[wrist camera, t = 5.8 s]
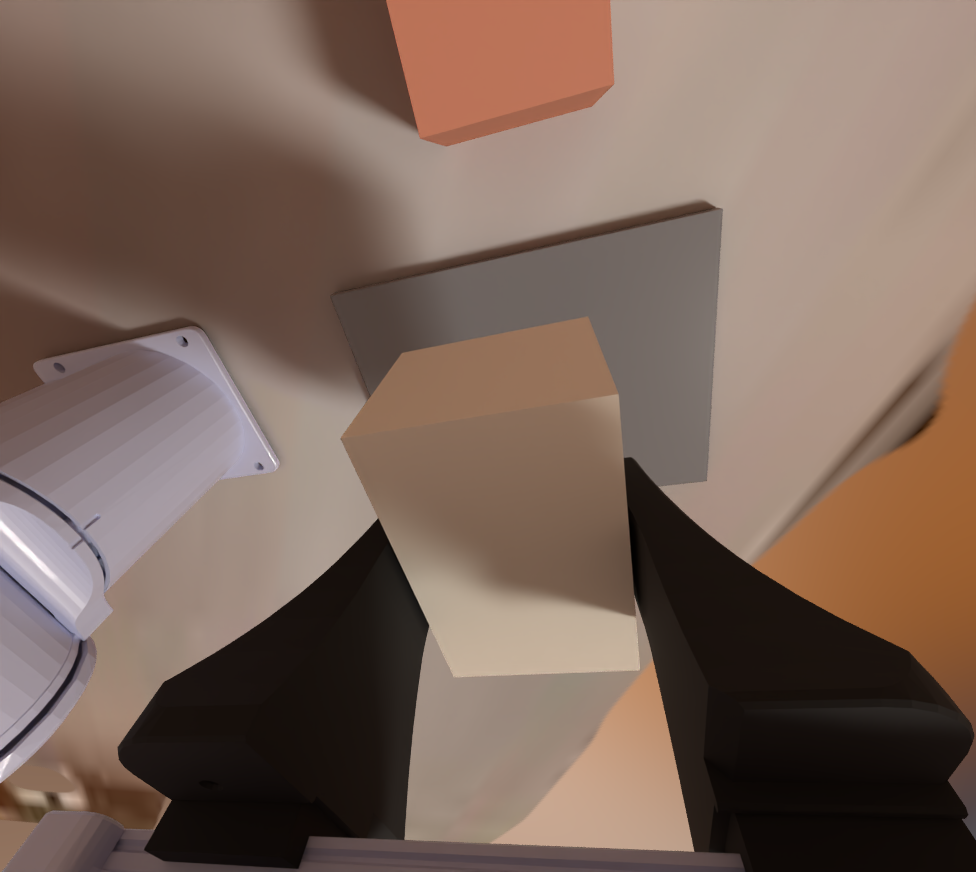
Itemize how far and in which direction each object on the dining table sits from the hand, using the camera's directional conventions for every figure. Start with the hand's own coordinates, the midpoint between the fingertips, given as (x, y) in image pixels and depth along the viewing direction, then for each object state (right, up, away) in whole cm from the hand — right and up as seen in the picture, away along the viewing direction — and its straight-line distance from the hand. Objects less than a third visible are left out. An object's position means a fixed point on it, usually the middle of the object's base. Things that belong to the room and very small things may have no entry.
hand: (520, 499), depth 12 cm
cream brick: (0, +1, +1) cm, 2 cm away
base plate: (+1, +4, +7) cm, 8 cm away
